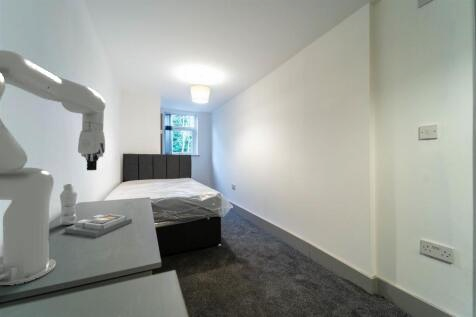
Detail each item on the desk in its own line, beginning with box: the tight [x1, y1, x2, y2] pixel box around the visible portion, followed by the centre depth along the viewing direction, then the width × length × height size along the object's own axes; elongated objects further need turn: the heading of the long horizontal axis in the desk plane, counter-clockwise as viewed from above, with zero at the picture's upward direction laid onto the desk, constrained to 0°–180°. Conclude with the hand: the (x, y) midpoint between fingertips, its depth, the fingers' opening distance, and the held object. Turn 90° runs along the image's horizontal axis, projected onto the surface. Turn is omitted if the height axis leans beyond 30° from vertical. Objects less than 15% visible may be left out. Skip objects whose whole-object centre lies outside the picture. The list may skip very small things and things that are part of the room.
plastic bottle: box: [59, 183, 78, 226], centre depth 101 cm, size 6×7×20 cm
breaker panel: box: [64, 213, 133, 238], centre depth 99 cm, size 20×18×4 cm
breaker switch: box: [94, 217, 117, 223], centre depth 98 cm, size 8×5×1 cm, turn 166°
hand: (91, 170), depth 88 cm, fingers closed
